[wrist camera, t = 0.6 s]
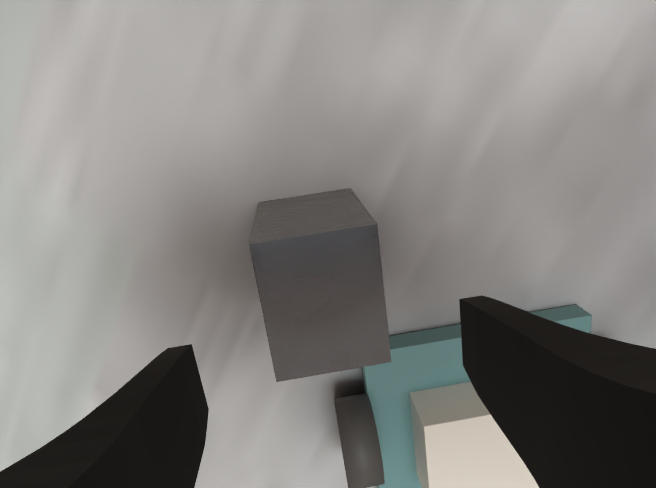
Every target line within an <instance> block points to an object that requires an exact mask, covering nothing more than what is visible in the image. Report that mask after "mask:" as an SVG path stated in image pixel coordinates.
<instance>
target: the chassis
mask: <svg viewBox="0 0 656 488" xmlns="http://www.w3.org/2000/svg"><path fill="white" fill-rule="evenodd" d="M529 313H532V314H534V315H537V316H540V317H542V318H545V319H548V320H551V321H553V322H556V323H559V324H562V325H565V326H568V327H571V328H574V329H577V330H580V331H584V332H587V333H590V334H591V318H592V315H591V314H589V313H588V312H586V311H585V310H583V309H582V308H581V307H579V306H578V305H570V306H564V307H558V308H552V309H546V310H540V311H534V312H529ZM389 343H390V353H391V362H389V363H383V364H377V365H371V366H366V367H362V373H363V380H364V388H365V393H363V394H357V395H352V396H346V397H340V398H334V402H335V408H336V415H337V421H338V428H339V434H340V440H341V446H342V453H343V459H344V465H345V471H346V477H347V483H348V488H366V487H372V486H377V488H539V487H538V485H537V483H536V481H535V479H534V478H533V476H532V475H531V473H530V472H529V470H528V468H527V467H526V465H525V464H524V462H523V461H522V459H521V458H520V456H519V455H518V453H517V452H516V451H515V449H514V448H513V446H512V445H511V443H510V442H509V440H508V439H507V438H506V436H505V435H504V433H503V432H502V430H501V429H500V427H499V426H498V425H497V423H496V422H495V420H494V419H493V417H492V416H491V414H490V413H489V411H488V410H487V408H486V407H485V405H484V404H483V403H482V401H481V399H480V398H479V396H478V395H477V393H476V391H475V389H474V387H473V385H472V383H471V381H470V379H469V377H468V375H467V373H466V371H465V369H464V366H463V360H462V339H461V324H458V325H452V326H446V327H440V328H434V329H428V330H422V331H416V332H410V333H404V334H399V335H393V336H389Z"/></svg>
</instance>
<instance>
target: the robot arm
mask: <svg viewBox="0 0 656 488" xmlns="http://www.w3.org/2000/svg"><path fill="white" fill-rule="evenodd" d="M460 318H461V339H462V360H463V366H464V369H465V371H466V373H467V375H468V377H469V379H470V381H471V383H472V385H473V387H474V389H475V391H476V393H477V395H478V396H479V398H480V399H481V401H482V403H483V404H484V405H485V407H486V408H487V410H488V411H489V413H490V414H491V416H492V417H493V419H494V420H495V422H496V423H497V425H498V426H499V427H500V429H501V430H502V432H503V433H504V435H505V436H506V438H507V439H508V440H509V442H510V443H511V445H512V446H513V448H514V449H515V451H516V452H517V453H518V455H519V456H520V458H521V459H522V461H523V462H524V464H525V465H526V467H527V468H528V470H529V472H530V473H531V475H532V476H533V478H534V479H535V481H536V483H537V485H538V487H539V488H656V349H654V348H648V347H643V346H638V345H634V344H629V343H625V342H621V341H617V340H613V339H609V338H605V337H601V336H597V335H594V334H590V333H587V332H584V331H580V330H577V329H574V328H571V327H568V326H565V325H562V324H559V323H556V322H553V321H551V320H548V319H545V318H542V317H540V316H537V315H534V314H532V313H529V312H527V311H524V310H521V309H519V308H516V307H514V306H511V305H509V304H506V303H503V302H501V301H498V300H495V299H492V298H489V297H485V296H476V297H470V298H464V299H460ZM208 410H209V409H208V406H207V402H206V398H205V394H204V390H203V386H202V383H201V379H200V375H199V371H198V367H197V363H196V360H195V356H194V352H193V348H192V344H191V345H185V346H179V347H173V348H168V349H166V350H165V351H164V352H162V353H161V354H160V355H159V356H157V357H156V358H155V359H154V360H153V361H151V362H150V363H149V364H148V365H147V366H146V367H145V368H143V369H142V370H141V371H140V372H139V373H138V374H137V375H135V376H134V377H133V378H132V379H131V380H130V381H129V382H127V383H126V384H125V385H124V386H123V387H122V388H121V389H119V390H118V391H117V392H116V393H115V394H113V395H112V396H111V397H110V398H108V399H107V400H106V401H105V402H103V403H102V404H101V405H100V406H98V407H97V408H96V409H95V410H93V411H92V412H91V413H90V414H88V415H87V416H86V417H85V418H83V419H82V420H81V421H79V422H78V423H76V424H75V425H74V426H72V427H71V428H70V429H68V430H67V431H65V432H64V433H62V434H61V435H59V436H58V437H56V438H55V439H53V440H52V441H50V442H49V443H47V444H46V445H44V446H43V447H41V448H40V449H38V450H36V451H35V452H33V453H31V454H30V455H28V456H26V457H25V458H23V459H21V460H19V461H18V462H16V463H14V464H13V465H11V466H9V467H8V468H6V469H4V470H3V471H1V472H0V488H194V486H195V482H196V478H197V475H198V471H199V466H200V462H201V458H202V454H203V450H204V446H205V439H206V430H207V420H208Z"/></svg>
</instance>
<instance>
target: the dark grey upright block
mask: <svg viewBox="0 0 656 488" xmlns="http://www.w3.org/2000/svg"><path fill="white" fill-rule="evenodd" d="M249 246H250V251H251V256H252V261H253V266H254V271H255V276H256V281H257V286H258V291H259V296H260V301H261V306H262V311H263V316H264V321H265V326H266V331H267V336H268V341H269V346H270V351H271V356H272V361H273V366H274V371H275V376H276V381H277V382H279V381H284V380H290V379H296V378H302V377H308V376H313V375H319V374H325V373H331V372H337V371H342V370H348V369H354V368H360V367H366V366H371V365H377V364H383V363H389V362H391V353H390V343H389V334H388V324H387V315H386V305H385V296H384V286H383V277H382V267H381V258H380V248H379V239H378V229H377V223H376V222H375V221H374V219H373V218H372V217H371V215H370V214H369V213H368V211H367V210H366V209H365V207H364V206H363V205H362V203H361V202H360V201H359V199H358V198H357V197H356V196H355V194H354V193H353V192H352V190H351V189H350V188H349V189H342V190H336V191H329V192H323V193H316V194H310V195H303V196H297V197H290V198H283V199H277V200H270V201H264V202H259V203H258V208H257V212H256V216H255V221H254V225H253V229H252V234H251V238H250V242H249Z"/></svg>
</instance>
